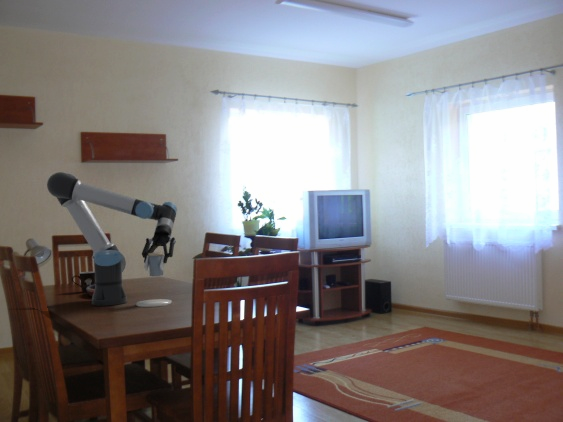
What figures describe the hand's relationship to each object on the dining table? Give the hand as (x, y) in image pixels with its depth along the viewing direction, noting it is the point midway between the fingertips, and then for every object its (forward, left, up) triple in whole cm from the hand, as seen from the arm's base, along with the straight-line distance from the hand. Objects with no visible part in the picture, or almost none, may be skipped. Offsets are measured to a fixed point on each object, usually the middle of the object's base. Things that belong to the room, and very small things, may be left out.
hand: (153, 268), depth 266 cm
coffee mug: (-15, +67, -16) cm, 70 cm away
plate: (-1, -1, -16) cm, 16 cm away
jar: (+2, +3, -3) cm, 5 cm away
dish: (-11, +48, -16) cm, 52 cm away
